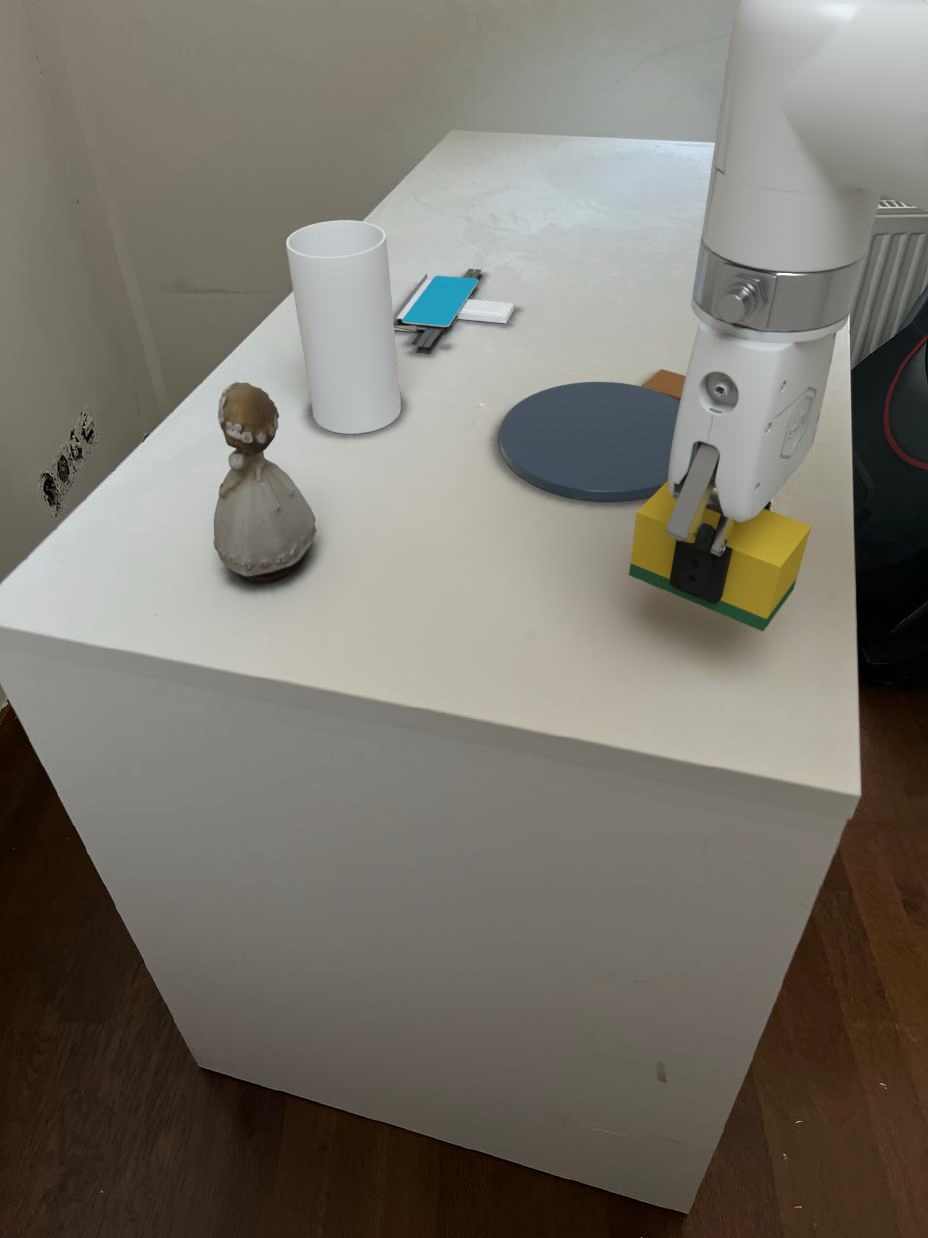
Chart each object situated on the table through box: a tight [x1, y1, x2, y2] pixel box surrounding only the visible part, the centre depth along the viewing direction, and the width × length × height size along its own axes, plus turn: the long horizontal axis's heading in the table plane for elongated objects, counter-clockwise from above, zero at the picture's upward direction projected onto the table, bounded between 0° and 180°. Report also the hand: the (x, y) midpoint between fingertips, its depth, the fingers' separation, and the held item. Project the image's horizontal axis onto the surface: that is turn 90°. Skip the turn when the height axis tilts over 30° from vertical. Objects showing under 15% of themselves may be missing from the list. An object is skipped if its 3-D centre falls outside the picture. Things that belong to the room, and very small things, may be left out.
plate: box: [499, 381, 680, 502], centre depth 82 cm, size 18×18×1 cm
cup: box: [285, 219, 402, 435], centre depth 82 cm, size 8×8×16 cm
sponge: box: [628, 481, 812, 632], centre depth 57 cm, size 5×9×5 cm, turn 54°
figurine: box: [213, 381, 318, 584], centre depth 66 cm, size 8×7×15 cm
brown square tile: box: [641, 368, 686, 401], centre depth 88 cm, size 4×4×1 cm
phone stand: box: [393, 268, 515, 354], centre depth 102 cm, size 20×12×2 cm, turn 164°
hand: (714, 567), depth 58 cm, fingers closed on sponge, 4 cm apart
